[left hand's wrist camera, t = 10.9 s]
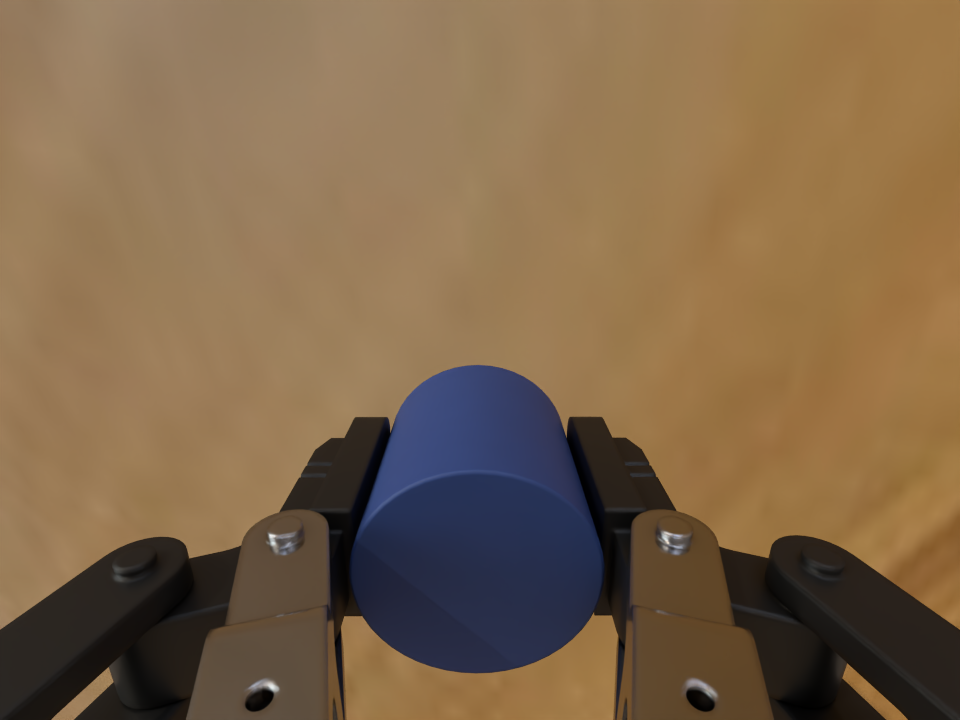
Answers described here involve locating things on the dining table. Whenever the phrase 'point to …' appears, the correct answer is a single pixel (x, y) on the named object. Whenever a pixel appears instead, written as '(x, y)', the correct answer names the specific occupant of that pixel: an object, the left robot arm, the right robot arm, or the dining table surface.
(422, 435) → the canister
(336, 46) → the dining table surface
